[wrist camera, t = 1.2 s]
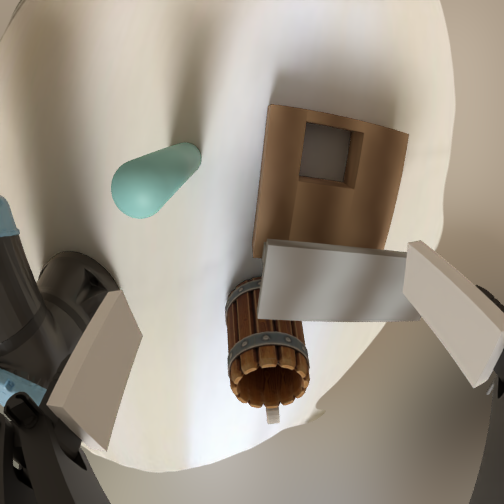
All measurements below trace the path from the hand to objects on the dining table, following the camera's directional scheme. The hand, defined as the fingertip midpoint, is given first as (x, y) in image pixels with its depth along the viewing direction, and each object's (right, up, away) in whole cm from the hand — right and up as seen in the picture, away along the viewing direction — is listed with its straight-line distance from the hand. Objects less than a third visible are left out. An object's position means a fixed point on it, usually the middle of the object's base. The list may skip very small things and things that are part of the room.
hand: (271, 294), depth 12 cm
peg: (-9, +13, +20) cm, 25 cm away
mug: (+1, -8, +30) cm, 31 cm away
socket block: (+8, +9, +22) cm, 25 cm away
